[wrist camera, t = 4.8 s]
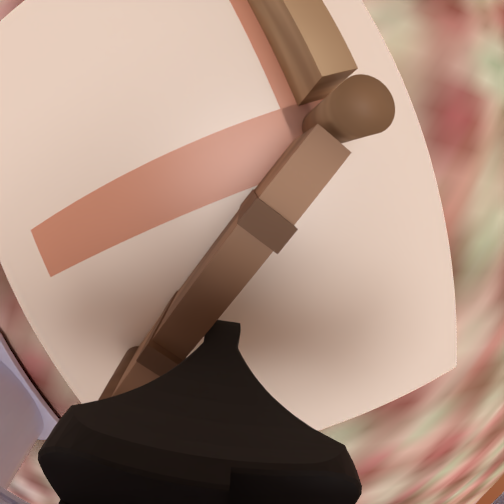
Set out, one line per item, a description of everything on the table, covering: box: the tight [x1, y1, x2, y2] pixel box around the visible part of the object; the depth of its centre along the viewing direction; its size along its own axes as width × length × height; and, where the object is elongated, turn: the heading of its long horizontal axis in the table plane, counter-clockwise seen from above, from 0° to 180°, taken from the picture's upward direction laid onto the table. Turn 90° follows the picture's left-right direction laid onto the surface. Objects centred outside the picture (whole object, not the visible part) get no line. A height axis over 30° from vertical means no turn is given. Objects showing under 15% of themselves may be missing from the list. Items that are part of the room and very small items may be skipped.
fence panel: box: [98, 124, 352, 400], centre depth 9 cm, size 11×2×4 cm, turn 142°
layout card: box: [0, 0, 457, 431], centre depth 10 cm, size 19×26×1 cm
